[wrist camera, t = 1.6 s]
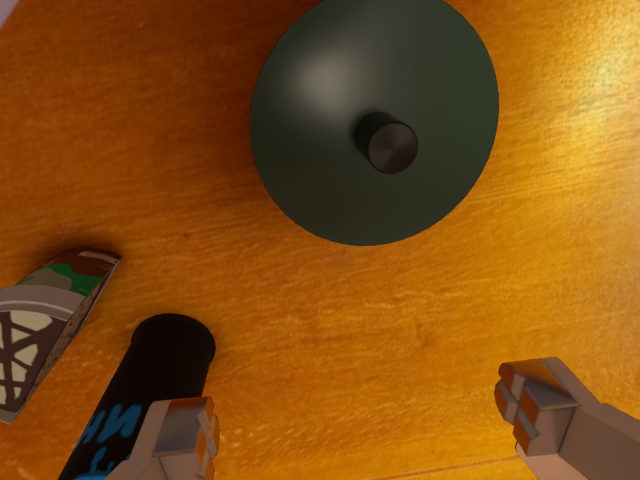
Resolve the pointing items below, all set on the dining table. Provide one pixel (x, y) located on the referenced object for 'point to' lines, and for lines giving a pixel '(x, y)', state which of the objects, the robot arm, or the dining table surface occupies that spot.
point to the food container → (46, 320)
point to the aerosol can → (142, 391)
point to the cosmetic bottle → (549, 467)
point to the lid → (374, 118)
